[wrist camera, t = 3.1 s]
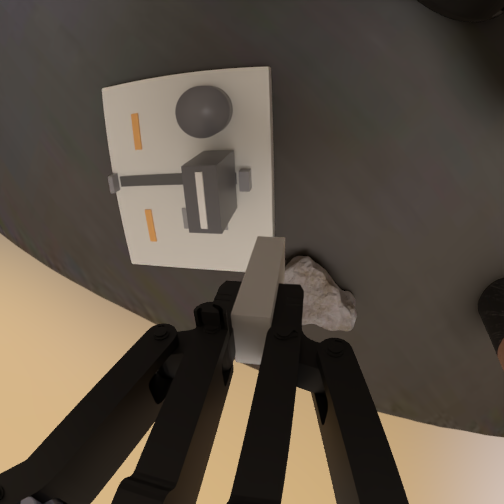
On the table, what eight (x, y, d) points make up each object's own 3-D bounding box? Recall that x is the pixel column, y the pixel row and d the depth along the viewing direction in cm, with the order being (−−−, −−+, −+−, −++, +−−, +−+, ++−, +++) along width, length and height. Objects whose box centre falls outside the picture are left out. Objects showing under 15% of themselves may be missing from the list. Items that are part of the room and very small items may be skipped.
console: (111, 87, 30) (91, 90, 27) (271, 67, 27) (265, 65, 24) (139, 255, 41) (124, 272, 38) (275, 264, 38) (270, 283, 35)
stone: (292, 242, 36) (289, 270, 31) (368, 270, 37) (376, 300, 32) (269, 295, 41) (263, 326, 36) (339, 318, 41) (341, 350, 36)
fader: (203, 150, 30) (180, 166, 25) (233, 149, 30) (215, 165, 24) (209, 207, 33) (188, 233, 28) (237, 207, 33) (221, 234, 27)
